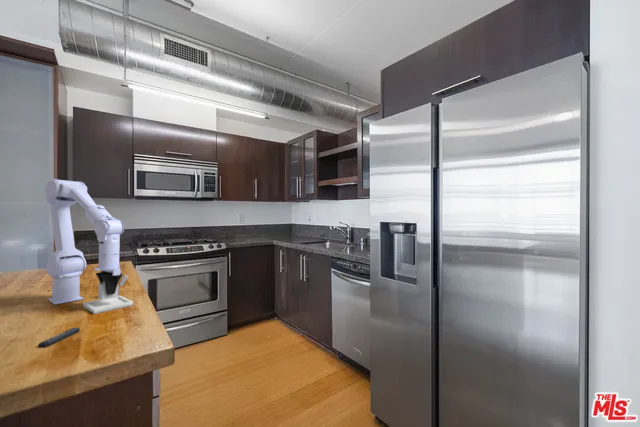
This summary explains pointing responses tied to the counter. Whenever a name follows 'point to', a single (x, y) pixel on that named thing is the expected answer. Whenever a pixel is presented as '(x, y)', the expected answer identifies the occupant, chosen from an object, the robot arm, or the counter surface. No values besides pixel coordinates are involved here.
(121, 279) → the lighter
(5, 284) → the counter surface
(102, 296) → the plug
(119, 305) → the dish
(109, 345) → the counter surface
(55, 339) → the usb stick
